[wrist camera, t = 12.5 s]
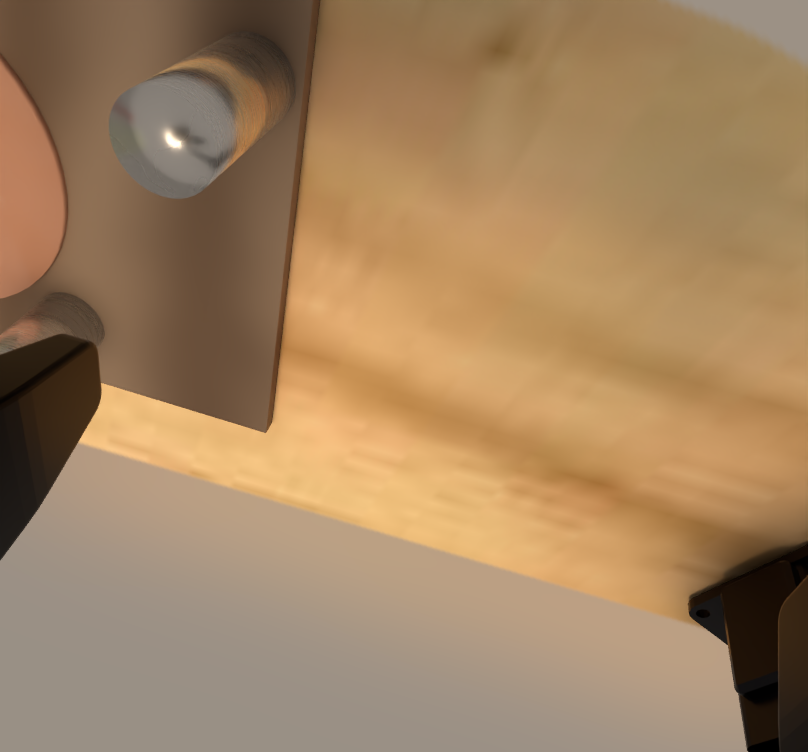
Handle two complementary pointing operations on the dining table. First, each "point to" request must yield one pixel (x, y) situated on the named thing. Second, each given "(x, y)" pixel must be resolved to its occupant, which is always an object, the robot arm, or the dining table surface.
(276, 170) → the course board
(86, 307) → the steel post
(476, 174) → the dining table surface
